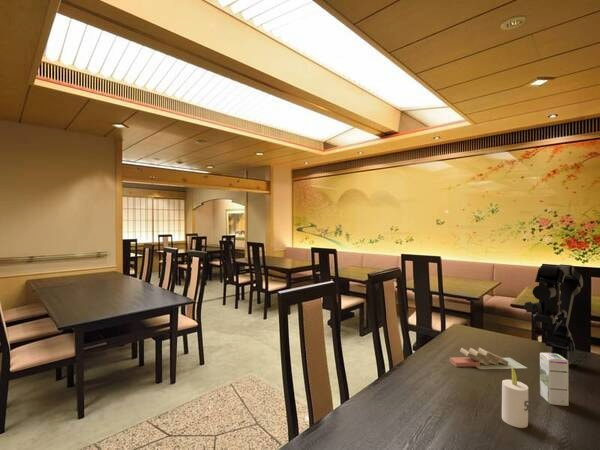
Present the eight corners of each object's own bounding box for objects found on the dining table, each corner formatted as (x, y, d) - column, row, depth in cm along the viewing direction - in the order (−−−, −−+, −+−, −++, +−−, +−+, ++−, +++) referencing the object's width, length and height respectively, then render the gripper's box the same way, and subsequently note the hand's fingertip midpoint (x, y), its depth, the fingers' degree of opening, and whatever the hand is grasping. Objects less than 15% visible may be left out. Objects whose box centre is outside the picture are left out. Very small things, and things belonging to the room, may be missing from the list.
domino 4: (500, 356, 134) (479, 347, 134) (508, 362, 129) (487, 352, 129) (498, 360, 134) (477, 350, 133) (507, 365, 129) (485, 355, 128)
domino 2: (482, 357, 134) (461, 347, 133) (490, 362, 129) (468, 352, 128) (480, 360, 134) (459, 351, 133) (488, 366, 129) (466, 356, 128)
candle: (519, 430, 88) (520, 376, 88) (496, 417, 94) (497, 366, 94) (533, 425, 91) (534, 372, 91) (510, 412, 97) (511, 363, 97)
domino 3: (490, 357, 134) (470, 347, 133) (499, 362, 129) (477, 352, 128) (489, 360, 134) (468, 351, 133) (497, 365, 129) (476, 356, 128)
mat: (509, 358, 137) (509, 357, 137) (527, 368, 127) (527, 368, 127) (464, 359, 136) (464, 358, 136) (479, 369, 126) (479, 369, 126)
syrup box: (569, 406, 101) (569, 360, 101) (548, 404, 102) (548, 358, 102) (558, 396, 106) (559, 353, 106) (538, 394, 107) (539, 351, 107)
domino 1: (472, 357, 133) (449, 357, 133) (480, 362, 128) (456, 362, 128) (472, 360, 133) (449, 361, 133) (480, 366, 128) (456, 366, 128)
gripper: (534, 291, 138) (534, 327, 138) (517, 296, 127) (517, 335, 127) (567, 296, 129) (567, 335, 129) (552, 302, 118) (551, 344, 118)
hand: (549, 337), depth 126 cm, fingers closed
